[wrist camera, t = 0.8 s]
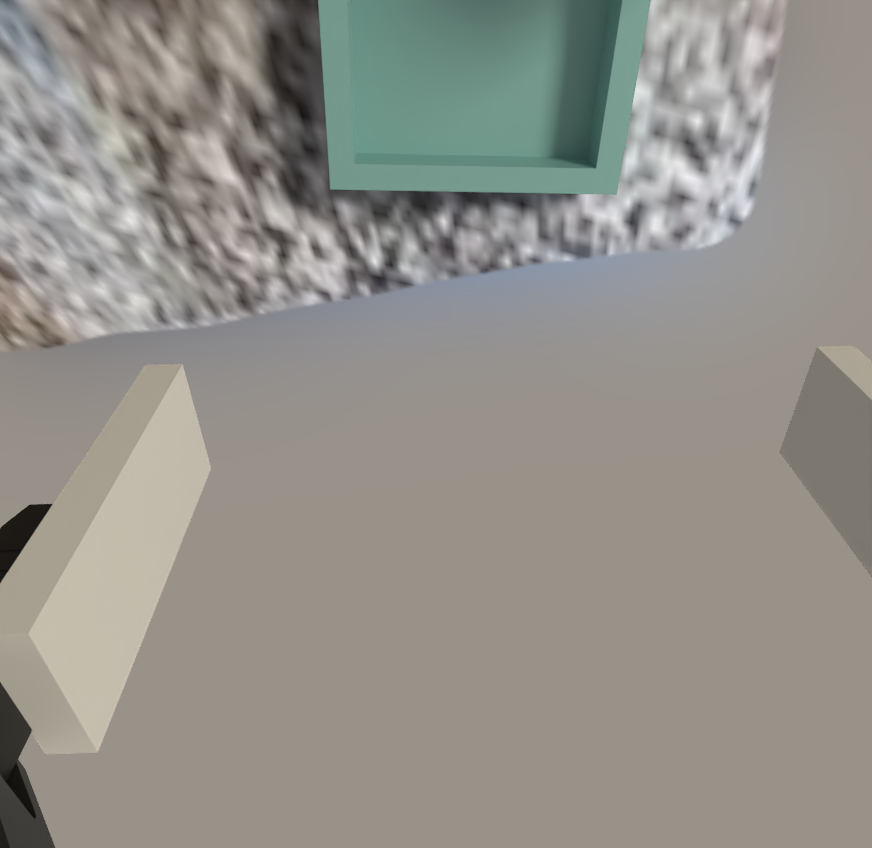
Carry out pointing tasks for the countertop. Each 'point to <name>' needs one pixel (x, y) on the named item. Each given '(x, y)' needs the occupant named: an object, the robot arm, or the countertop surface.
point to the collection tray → (479, 93)
